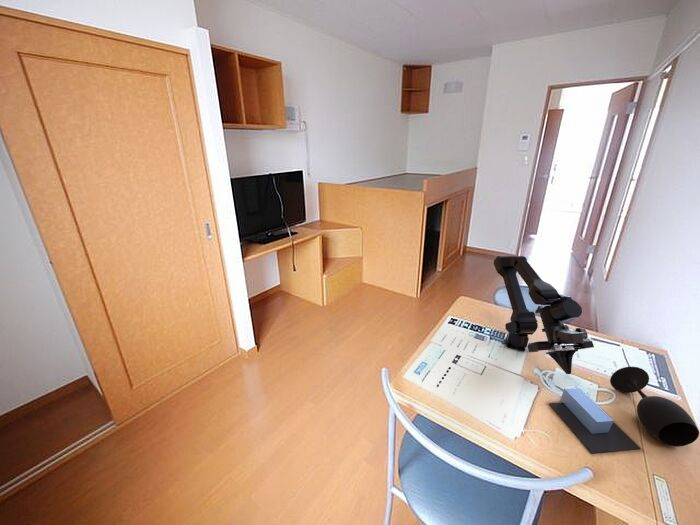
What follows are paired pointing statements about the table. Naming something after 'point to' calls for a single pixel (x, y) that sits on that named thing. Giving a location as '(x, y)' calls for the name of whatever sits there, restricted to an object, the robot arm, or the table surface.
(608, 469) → the table surface
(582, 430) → the rubber mat
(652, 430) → the wine glass
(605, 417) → the blue block
